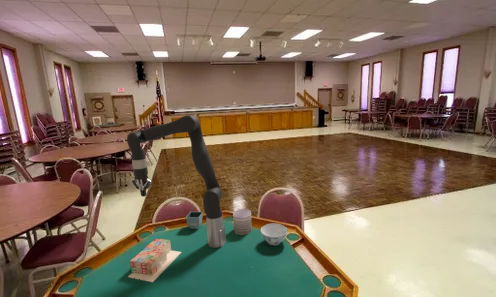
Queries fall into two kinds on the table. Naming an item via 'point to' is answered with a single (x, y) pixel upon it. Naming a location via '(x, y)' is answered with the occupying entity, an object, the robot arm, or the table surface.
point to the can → (242, 221)
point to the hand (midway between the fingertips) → (143, 196)
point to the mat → (151, 278)
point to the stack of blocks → (151, 257)
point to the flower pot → (194, 219)
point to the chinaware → (274, 233)
